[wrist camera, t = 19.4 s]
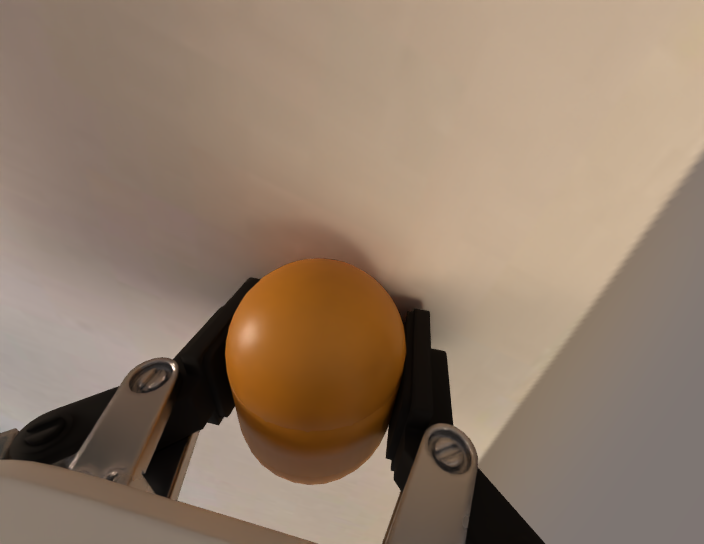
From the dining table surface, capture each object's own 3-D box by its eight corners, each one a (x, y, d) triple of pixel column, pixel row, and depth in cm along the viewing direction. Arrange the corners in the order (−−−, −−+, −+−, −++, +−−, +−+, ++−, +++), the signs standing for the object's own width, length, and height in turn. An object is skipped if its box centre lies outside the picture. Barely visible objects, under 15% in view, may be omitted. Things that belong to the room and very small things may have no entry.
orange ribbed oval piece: (268, 218, 10) (149, 322, 5) (423, 243, 9) (424, 383, 5) (281, 366, 14) (219, 490, 10) (387, 391, 13) (371, 534, 9)
